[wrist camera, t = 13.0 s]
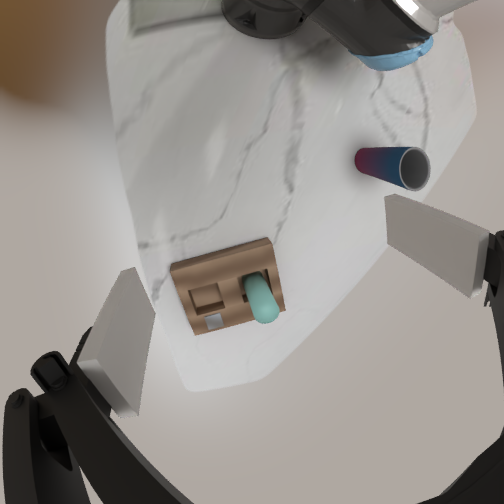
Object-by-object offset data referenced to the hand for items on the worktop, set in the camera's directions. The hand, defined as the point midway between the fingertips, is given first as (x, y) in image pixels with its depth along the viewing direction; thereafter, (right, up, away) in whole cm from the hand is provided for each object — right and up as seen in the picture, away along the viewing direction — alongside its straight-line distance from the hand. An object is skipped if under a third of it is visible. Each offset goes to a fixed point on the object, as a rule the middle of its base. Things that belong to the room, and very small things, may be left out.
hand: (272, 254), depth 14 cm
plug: (-1, -5, +41) cm, 41 cm away
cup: (+21, +18, +37) cm, 46 cm away
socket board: (-5, -6, +41) cm, 41 cm away
